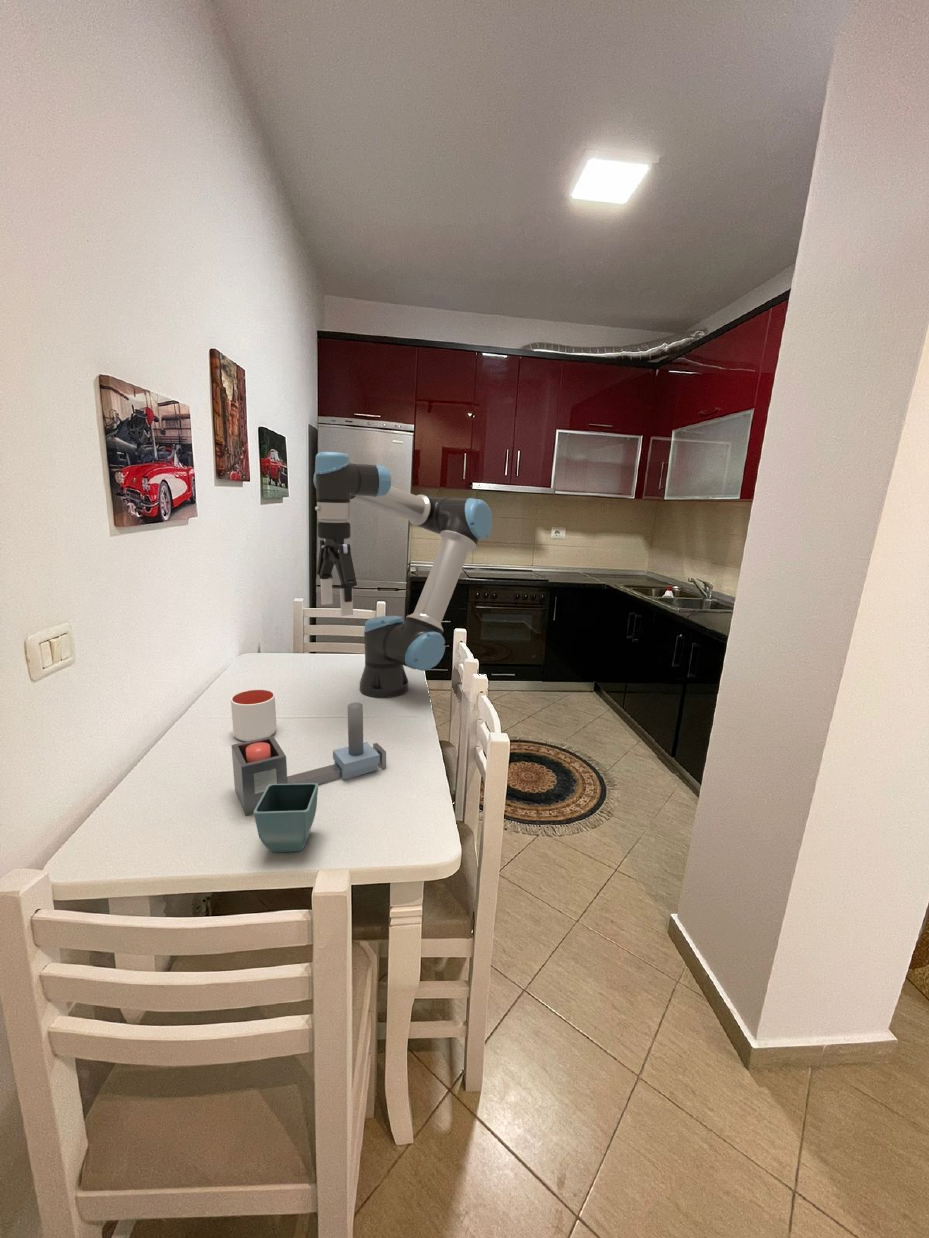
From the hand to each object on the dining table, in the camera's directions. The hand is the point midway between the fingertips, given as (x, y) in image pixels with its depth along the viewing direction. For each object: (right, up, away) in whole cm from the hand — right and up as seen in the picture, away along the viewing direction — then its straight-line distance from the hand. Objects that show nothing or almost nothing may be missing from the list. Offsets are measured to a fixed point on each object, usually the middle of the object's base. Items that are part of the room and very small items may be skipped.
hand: (336, 609), depth 126 cm
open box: (-9, -38, -23) cm, 45 cm away
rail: (+2, -36, -16) cm, 40 cm away
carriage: (+7, -36, -13) cm, 39 cm away
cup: (-21, -31, +3) cm, 38 cm away
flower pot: (+1, -41, -37) cm, 55 cm away
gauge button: (-9, -32, -25) cm, 42 cm away
